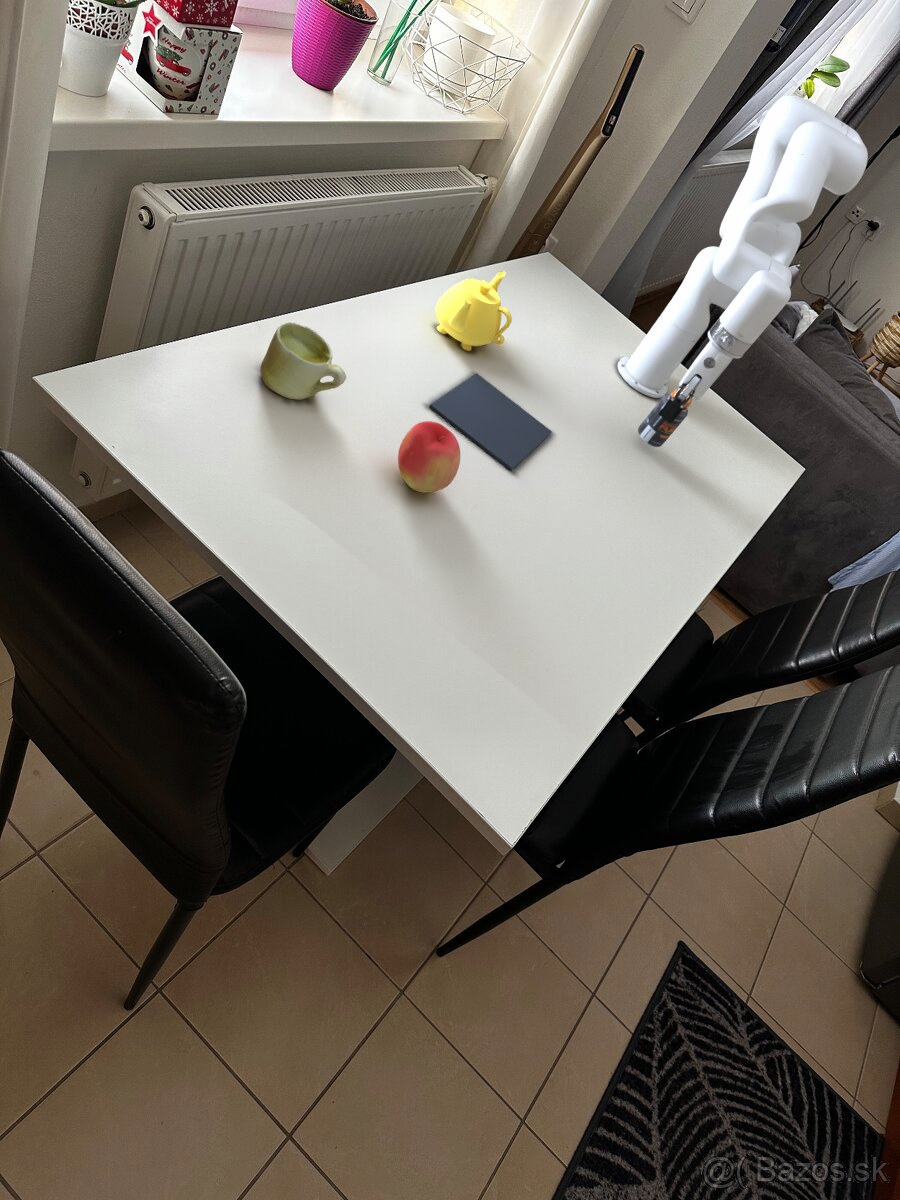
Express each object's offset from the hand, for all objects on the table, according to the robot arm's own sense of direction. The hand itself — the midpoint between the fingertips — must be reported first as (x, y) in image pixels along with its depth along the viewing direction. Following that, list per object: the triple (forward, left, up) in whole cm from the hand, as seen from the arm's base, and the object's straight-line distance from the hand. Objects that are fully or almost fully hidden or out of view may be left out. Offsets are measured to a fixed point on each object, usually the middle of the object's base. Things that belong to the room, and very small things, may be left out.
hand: (670, 411), depth 166 cm
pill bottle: (0, 0, -7) cm, 7 cm away
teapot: (+10, -41, -9) cm, 43 cm away
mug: (+56, -48, -9) cm, 74 cm away
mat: (+28, -24, -9) cm, 38 cm away
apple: (+56, -24, -9) cm, 61 cm away
